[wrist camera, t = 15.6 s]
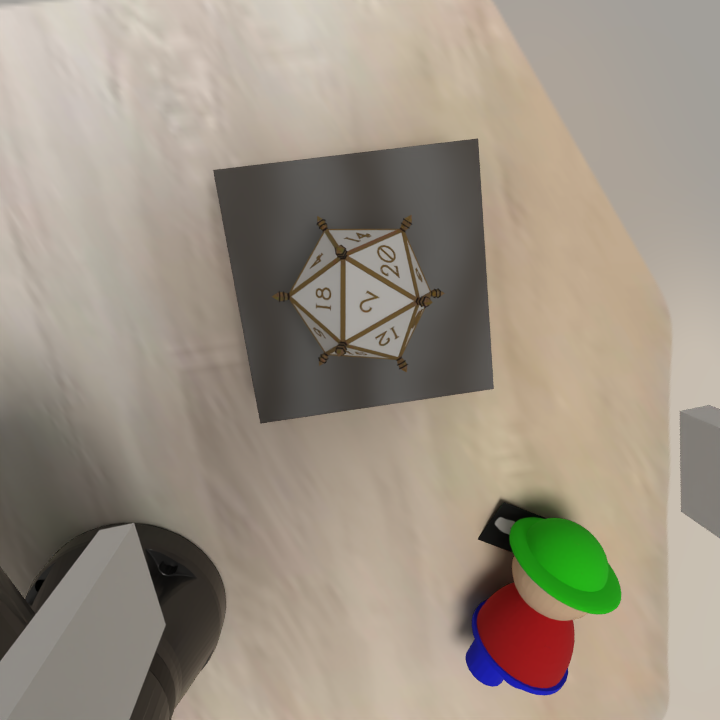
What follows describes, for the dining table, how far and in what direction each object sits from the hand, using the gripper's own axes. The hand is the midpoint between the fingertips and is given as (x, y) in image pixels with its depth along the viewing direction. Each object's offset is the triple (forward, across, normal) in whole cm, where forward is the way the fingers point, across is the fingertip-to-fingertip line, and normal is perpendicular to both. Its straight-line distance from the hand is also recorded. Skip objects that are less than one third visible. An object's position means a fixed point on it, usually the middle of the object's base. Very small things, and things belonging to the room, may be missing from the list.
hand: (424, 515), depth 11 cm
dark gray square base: (+26, +2, +4) cm, 26 cm away
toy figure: (+26, +11, -24) cm, 37 cm away
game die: (+21, +1, +4) cm, 21 cm away
